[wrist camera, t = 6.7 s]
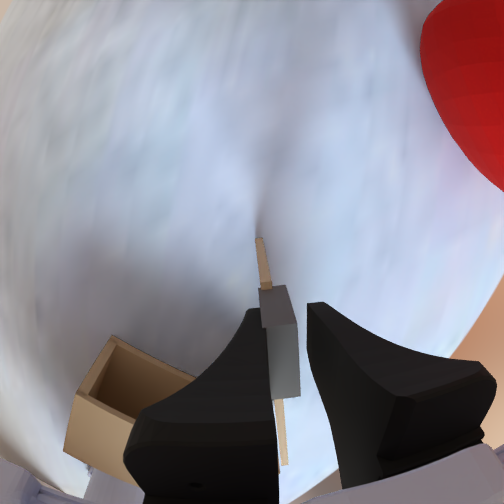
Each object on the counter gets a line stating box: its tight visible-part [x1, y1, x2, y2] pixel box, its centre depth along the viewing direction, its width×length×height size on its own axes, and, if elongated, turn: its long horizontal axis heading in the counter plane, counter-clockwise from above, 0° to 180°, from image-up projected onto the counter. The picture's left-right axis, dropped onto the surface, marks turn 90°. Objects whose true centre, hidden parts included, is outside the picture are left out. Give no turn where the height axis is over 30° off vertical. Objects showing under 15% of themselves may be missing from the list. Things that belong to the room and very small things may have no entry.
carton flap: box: [255, 238, 301, 466], centre depth 14 cm, size 1×12×8 cm, turn 6°
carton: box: [63, 335, 280, 488], centre depth 18 cm, size 8×13×6 cm, turn 59°
